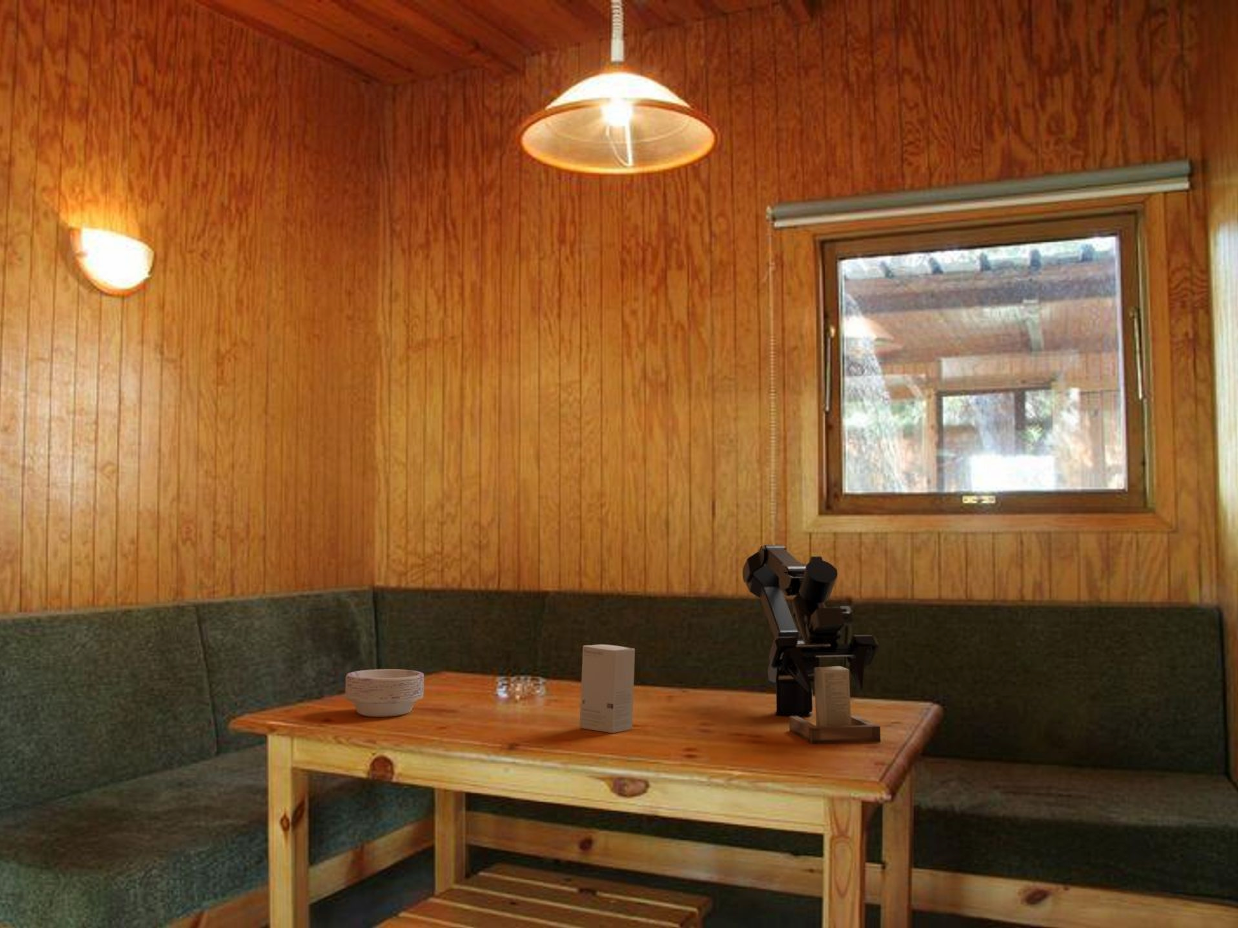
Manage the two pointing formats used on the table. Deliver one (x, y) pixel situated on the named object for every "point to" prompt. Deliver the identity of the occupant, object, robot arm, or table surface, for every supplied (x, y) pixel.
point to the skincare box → (607, 688)
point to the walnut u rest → (836, 731)
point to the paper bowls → (384, 691)
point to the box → (832, 696)
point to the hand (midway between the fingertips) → (835, 689)
